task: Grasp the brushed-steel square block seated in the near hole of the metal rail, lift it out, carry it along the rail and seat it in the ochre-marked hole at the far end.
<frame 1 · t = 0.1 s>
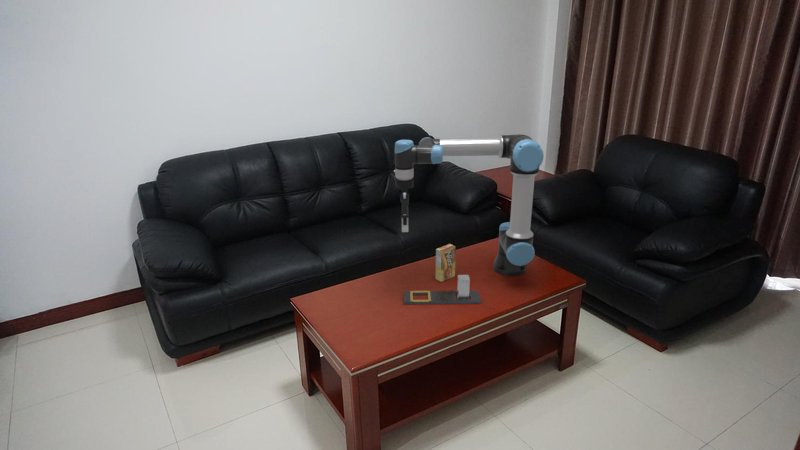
hand: (405, 225, 211), 28 cm above the table, fingers open, 13 cm apart
candy box: (445, 278, 226), on the table
rail: (441, 298, 208), on the table
steel block: (463, 298, 208), resting in rail
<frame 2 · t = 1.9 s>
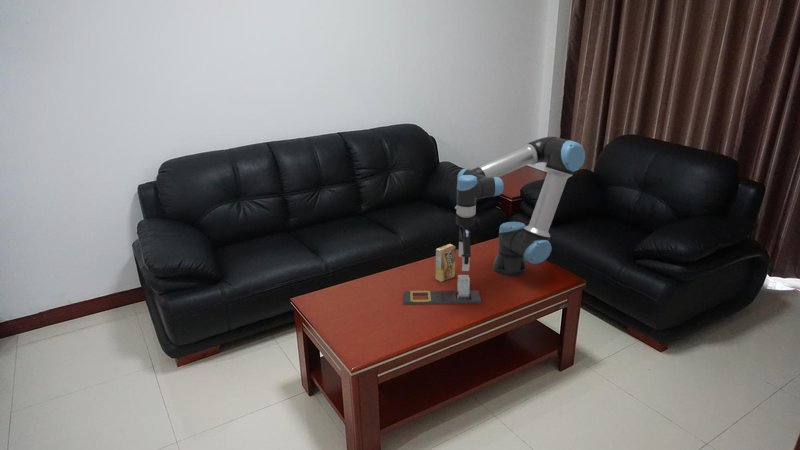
hand: (463, 263, 202), 16 cm above the table, fingers open, 13 cm apart
nothing on the table moved.
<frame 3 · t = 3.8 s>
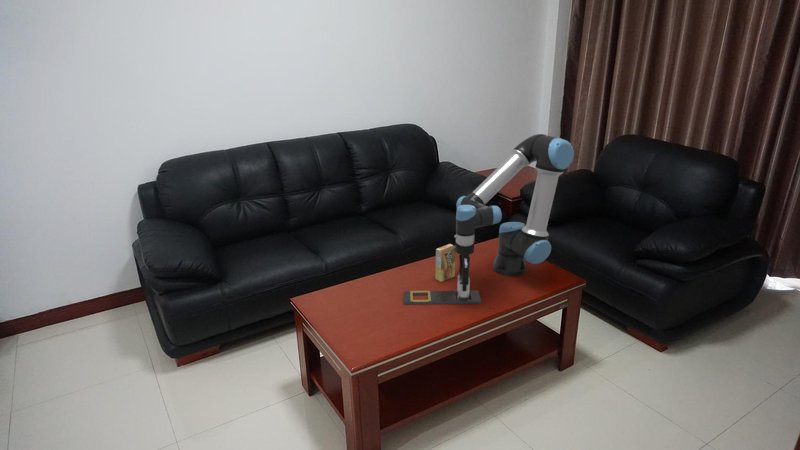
hand: (463, 293, 207), 2 cm above the table, fingers closed on steel block, 4 cm apart
steel block: (463, 298, 208), resting in rail, touching gripper
everything else where it was.
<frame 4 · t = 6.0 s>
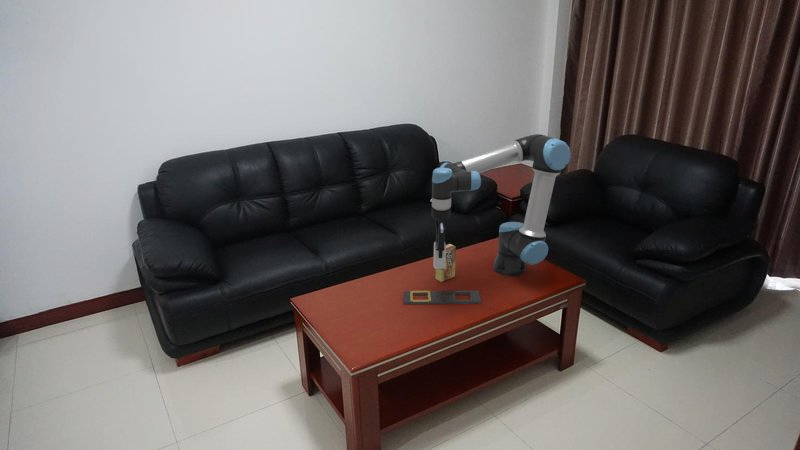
hand: (439, 261, 202), 18 cm above the table, fingers closed on steel block, 4 cm apart
steel block: (439, 266, 203), point 15 cm above the table, touching gripper
everything else where it was.
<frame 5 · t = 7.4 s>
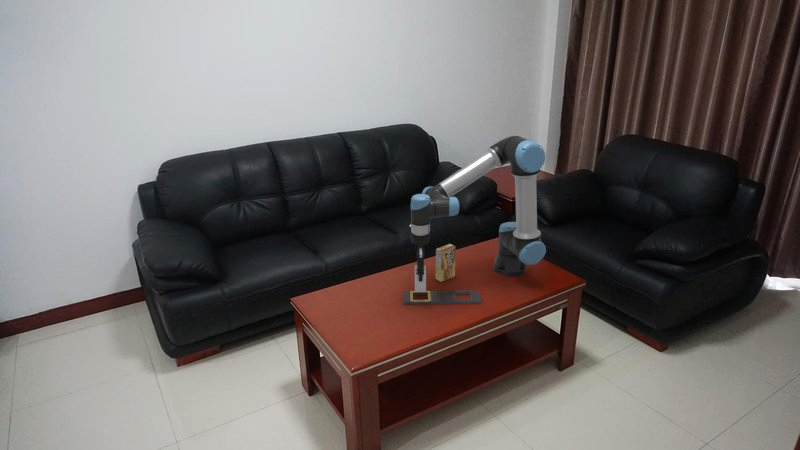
hand: (420, 284, 206), 7 cm above the table, fingers closed on steel block, 4 cm apart
steel block: (420, 289, 207), point 5 cm above the table, touching gripper
everything else where it was.
when the fingers open (3 cm above the table, at t = 8.5 s): steel block stays where it is, resting in rail.
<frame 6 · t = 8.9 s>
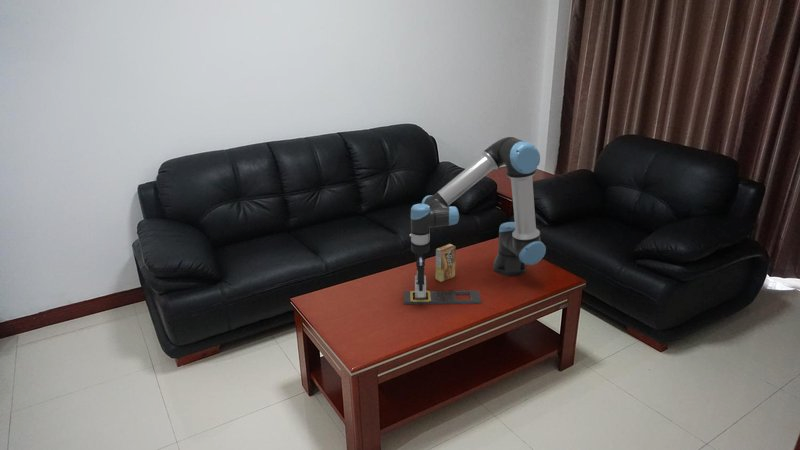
hand: (420, 290, 207), 4 cm above the table, fingers open, 10 cm apart
steel block: (420, 298, 209), resting in rail
everything else where it was.
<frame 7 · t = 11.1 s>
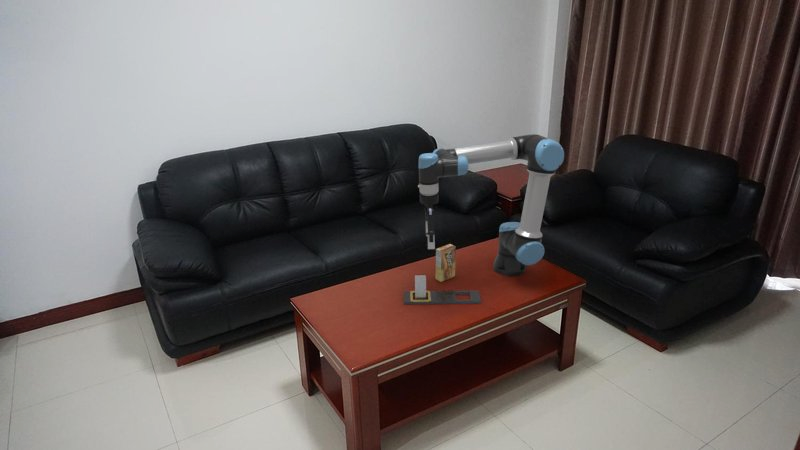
hand: (430, 242, 203), 25 cm above the table, fingers open, 13 cm apart
nothing on the table moved.
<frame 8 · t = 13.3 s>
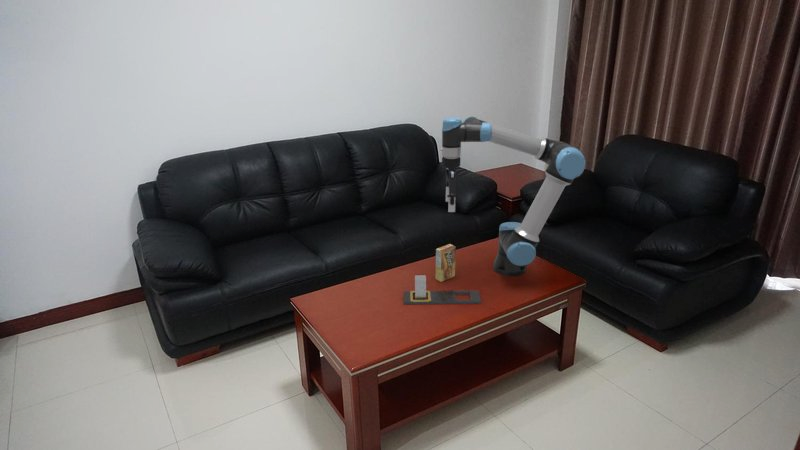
hand: (450, 206, 207), 37 cm above the table, fingers open, 13 cm apart
nothing on the table moved.
at the end: steel block 0.0 cm from the target spot on the rail, point 0.0 cm above the rail's base; steel block tilted 0°; the gripper is holding nothing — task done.
